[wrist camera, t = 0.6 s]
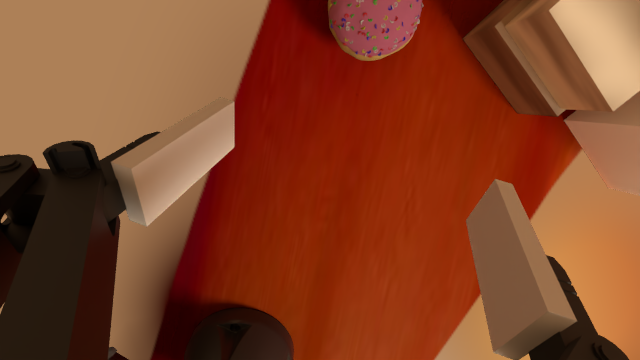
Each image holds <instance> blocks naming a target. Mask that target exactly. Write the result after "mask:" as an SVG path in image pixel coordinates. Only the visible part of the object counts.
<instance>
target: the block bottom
mask: <svg viewBox="0 0 640 360" xmlns="http://www.w3.org/2000/svg"><path fill="white" fill-rule="evenodd" d="M532 1H533V0H503V1H502V2H501V3H500V4H499V5H498V6H497V7H496V8H495V9H494V10H493V11H492V12H491V13H489V14H488V15H487V16H486V17H485V18H484V19H483V20H482V21H481V22H480V23H479V24H478V25H477V26H476V27H475V28H474V29H472V30H471V31H470V32H469V33H468V34H467V35H466V36H465V37H464V38H463V40H464V42H465V43H466V44H467V46H468V47H469V48H470V50H471V51H472V52H473V54H474V55H475V57H476V58H477V59H478V61H479V62H480V63H481V65H482V66H483V67H484V69H485V70H486V71H487V73H488V74H489V76H490V77H491V78H492V80H493V81H494V82H495V84H496V85H497V86H498V88H499V89H500V90H501V92H502V93H503V95H504V96H505V97H506V99H507V100H508V101H509V103H510V104H511V105H512V107H513V108H514V109H515V111H516V112H517V113H520V114H532V115H545V116H557V117H558V116H559V115H560V114H561V113H562V112H564V111H565V110H566V109H561V108H560V107H559V105H558V104H557V102H556V101H555V100H554V98H553V97H552V95H551V94H550V92H549V91H548V89H547V88H546V86H545V85H544V84H543V82H542V81H541V79H540V78H539V76H538V75H537V73H536V72H535V70H534V69H533V67H532V66H531V65H530V63H529V62H528V60H527V59H526V57H525V56H524V54H523V53H522V51H521V50H520V49H519V47H518V46H517V44H516V43H515V41H514V40H513V38H512V37H511V35H510V34H509V33H508V31H507V30H506V28H505V26H506V25H507V24H508V23H509V22H510V21H511V20H512V19H513V18H514V17H515V16H516V15H518V14H519V13H520V12H521V11H522V10H523V9H524V8H525V7H526V6H527V5H528V4H530V3H531V2H532Z"/></svg>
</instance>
